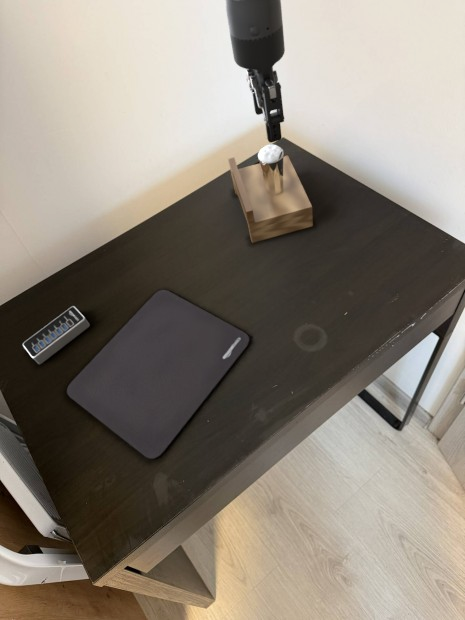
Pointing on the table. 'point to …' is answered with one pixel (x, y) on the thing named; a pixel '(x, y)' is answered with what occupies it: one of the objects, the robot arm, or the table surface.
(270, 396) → the table surface
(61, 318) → the multiport hub
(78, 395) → the mouse pad
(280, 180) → the milkshake
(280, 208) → the shelf
